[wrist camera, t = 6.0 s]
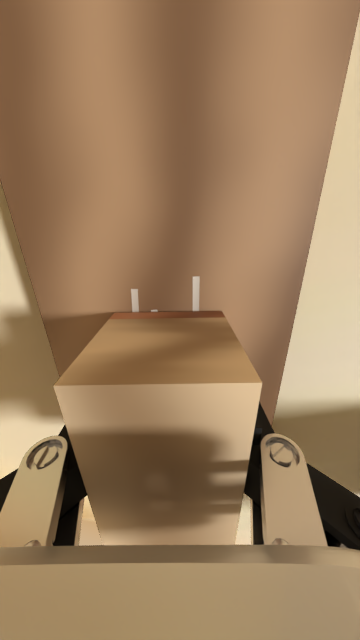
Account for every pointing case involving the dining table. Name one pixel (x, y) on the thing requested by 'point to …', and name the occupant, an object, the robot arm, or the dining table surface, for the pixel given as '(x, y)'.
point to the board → (170, 159)
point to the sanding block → (162, 427)
